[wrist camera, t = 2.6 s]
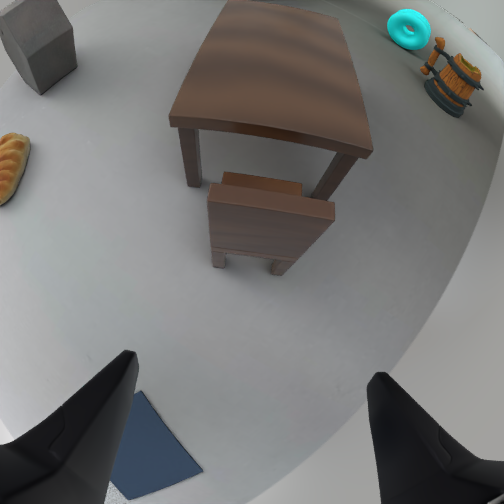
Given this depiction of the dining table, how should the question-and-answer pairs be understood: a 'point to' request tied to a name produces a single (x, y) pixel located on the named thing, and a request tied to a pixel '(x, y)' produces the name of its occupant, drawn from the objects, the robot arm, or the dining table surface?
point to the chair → (264, 219)
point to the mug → (451, 81)
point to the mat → (149, 454)
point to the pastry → (12, 163)
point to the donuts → (405, 36)
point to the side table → (274, 87)
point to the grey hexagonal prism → (38, 41)
